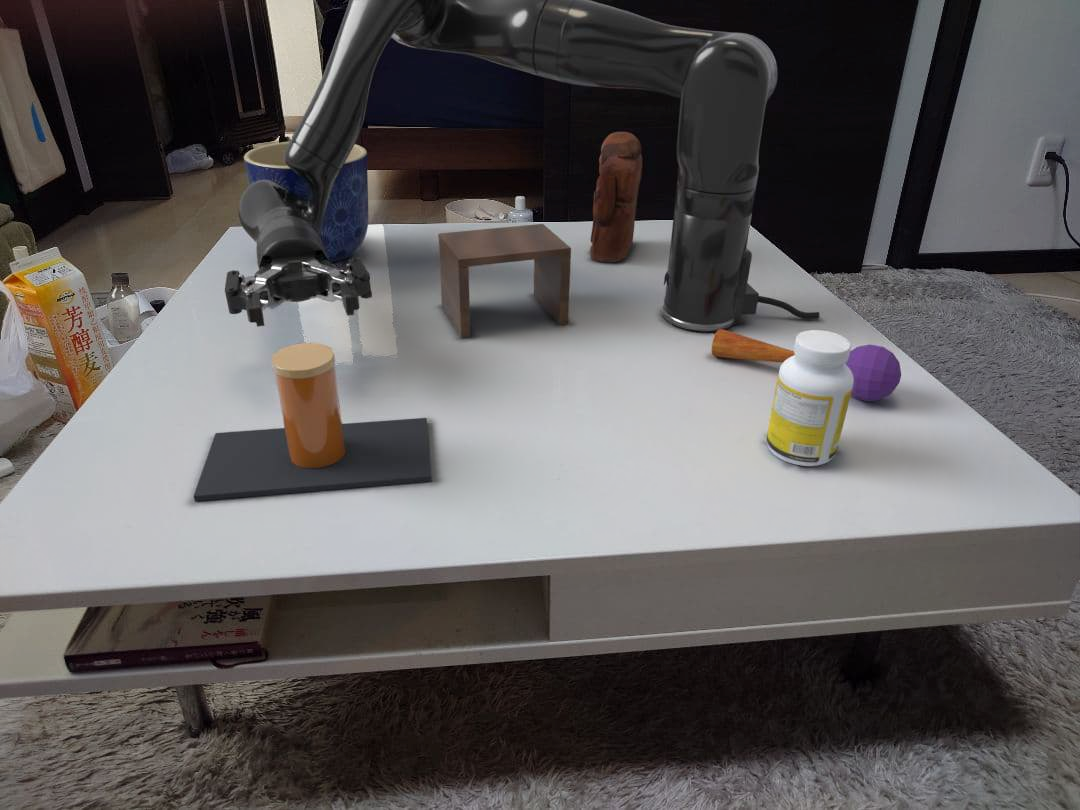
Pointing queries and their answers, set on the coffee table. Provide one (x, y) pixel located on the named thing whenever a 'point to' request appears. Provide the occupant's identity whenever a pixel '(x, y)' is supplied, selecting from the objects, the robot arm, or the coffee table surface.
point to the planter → (345, 201)
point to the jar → (310, 404)
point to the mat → (267, 469)
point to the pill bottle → (811, 399)
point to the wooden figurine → (616, 197)
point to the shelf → (504, 248)
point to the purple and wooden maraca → (867, 363)
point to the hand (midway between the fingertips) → (305, 311)
